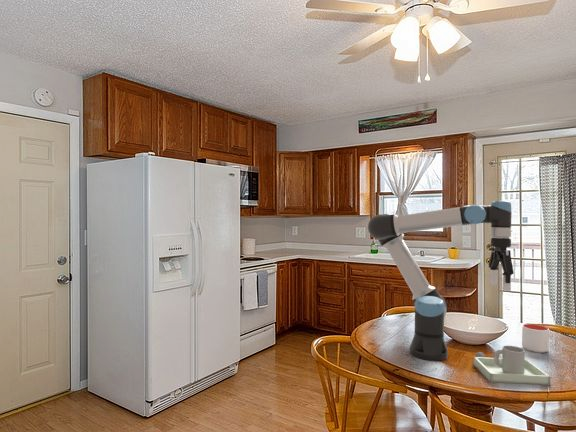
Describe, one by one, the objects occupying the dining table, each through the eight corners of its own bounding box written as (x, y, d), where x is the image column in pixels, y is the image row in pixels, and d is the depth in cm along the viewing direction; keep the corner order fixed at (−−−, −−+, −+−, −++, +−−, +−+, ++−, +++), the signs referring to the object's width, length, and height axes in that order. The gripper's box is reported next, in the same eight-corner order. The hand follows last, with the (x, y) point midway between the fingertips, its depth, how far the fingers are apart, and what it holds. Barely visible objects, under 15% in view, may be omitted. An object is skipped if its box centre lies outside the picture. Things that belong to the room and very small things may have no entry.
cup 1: (525, 378, 141) (526, 353, 141) (494, 373, 145) (494, 349, 145) (522, 370, 147) (523, 347, 147) (492, 366, 151) (493, 343, 151)
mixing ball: (477, 362, 156) (477, 353, 156) (473, 359, 160) (474, 350, 160) (486, 363, 156) (486, 354, 156) (483, 359, 160) (483, 351, 160)
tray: (490, 381, 139) (490, 373, 138) (473, 364, 154) (473, 356, 154) (550, 385, 137) (550, 376, 137) (526, 367, 152) (527, 359, 152)
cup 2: (552, 354, 167) (553, 331, 167) (527, 352, 169) (527, 329, 169) (542, 346, 177) (543, 324, 177) (518, 344, 179) (518, 323, 179)
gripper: (523, 239, 152) (522, 294, 152) (498, 236, 177) (498, 282, 177) (503, 239, 153) (502, 293, 153) (481, 235, 178) (480, 282, 178)
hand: (500, 287), depth 165 cm, fingers open, 13 cm apart
